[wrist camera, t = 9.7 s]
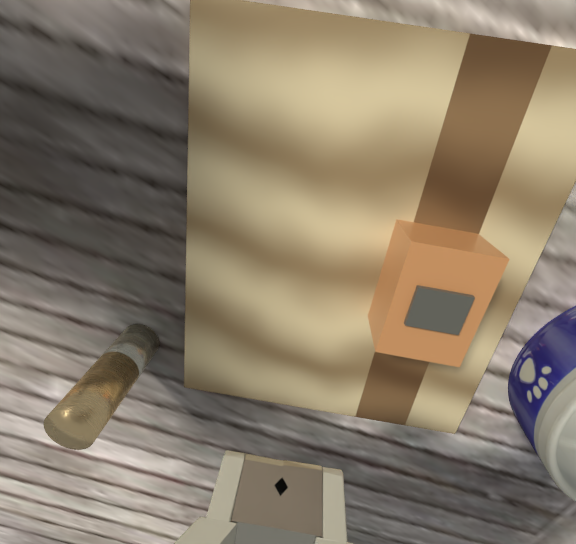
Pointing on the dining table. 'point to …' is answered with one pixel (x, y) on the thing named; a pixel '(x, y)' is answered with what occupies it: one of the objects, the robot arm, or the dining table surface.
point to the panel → (356, 195)
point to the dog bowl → (549, 397)
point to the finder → (433, 292)
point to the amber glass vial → (101, 389)
